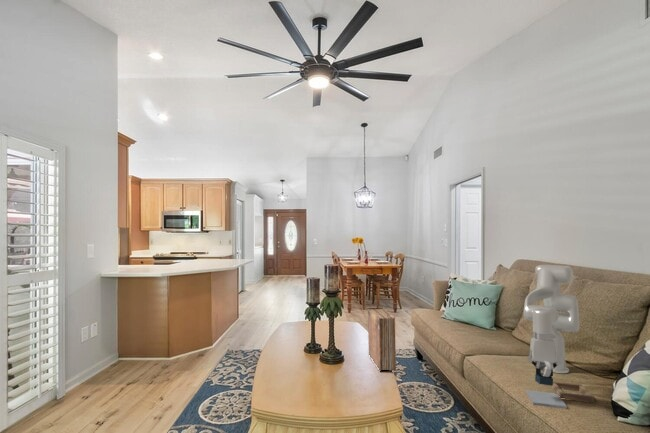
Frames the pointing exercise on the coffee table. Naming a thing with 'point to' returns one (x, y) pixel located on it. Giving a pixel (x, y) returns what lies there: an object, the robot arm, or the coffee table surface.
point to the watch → (544, 374)
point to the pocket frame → (585, 397)
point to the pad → (545, 399)
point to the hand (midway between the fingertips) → (544, 376)
